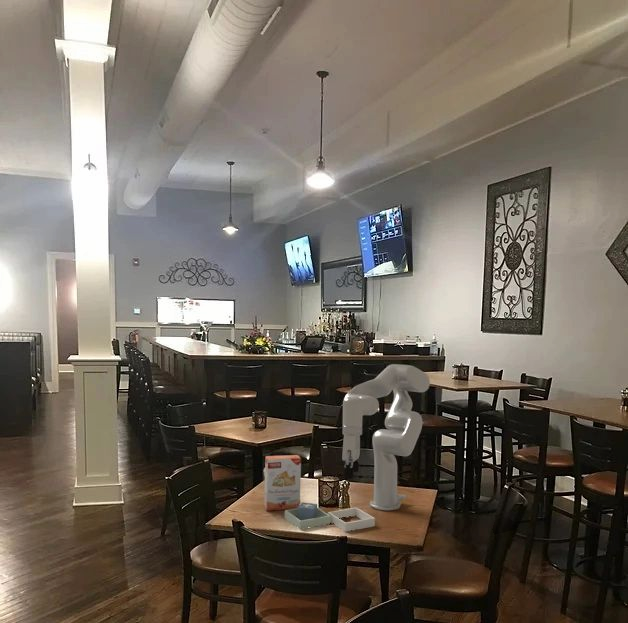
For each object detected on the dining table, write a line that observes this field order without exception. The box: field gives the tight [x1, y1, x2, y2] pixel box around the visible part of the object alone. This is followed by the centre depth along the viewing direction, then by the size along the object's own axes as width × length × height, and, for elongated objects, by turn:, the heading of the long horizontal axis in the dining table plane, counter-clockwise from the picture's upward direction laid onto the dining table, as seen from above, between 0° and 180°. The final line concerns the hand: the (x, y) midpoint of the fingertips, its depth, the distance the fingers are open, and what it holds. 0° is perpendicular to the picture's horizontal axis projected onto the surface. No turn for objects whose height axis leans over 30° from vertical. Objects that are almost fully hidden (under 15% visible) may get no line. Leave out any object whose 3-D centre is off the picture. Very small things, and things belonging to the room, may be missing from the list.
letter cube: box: [297, 501, 318, 521], centre depth 211 cm, size 6×6×6 cm
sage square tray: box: [284, 507, 332, 530], centre depth 211 cm, size 13×13×3 cm
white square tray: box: [327, 507, 376, 533], centre depth 210 cm, size 13×13×3 cm
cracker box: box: [263, 454, 302, 512], centre depth 226 cm, size 14×6×21 cm, turn 105°
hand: (351, 474), depth 210 cm, fingers open, 9 cm apart
